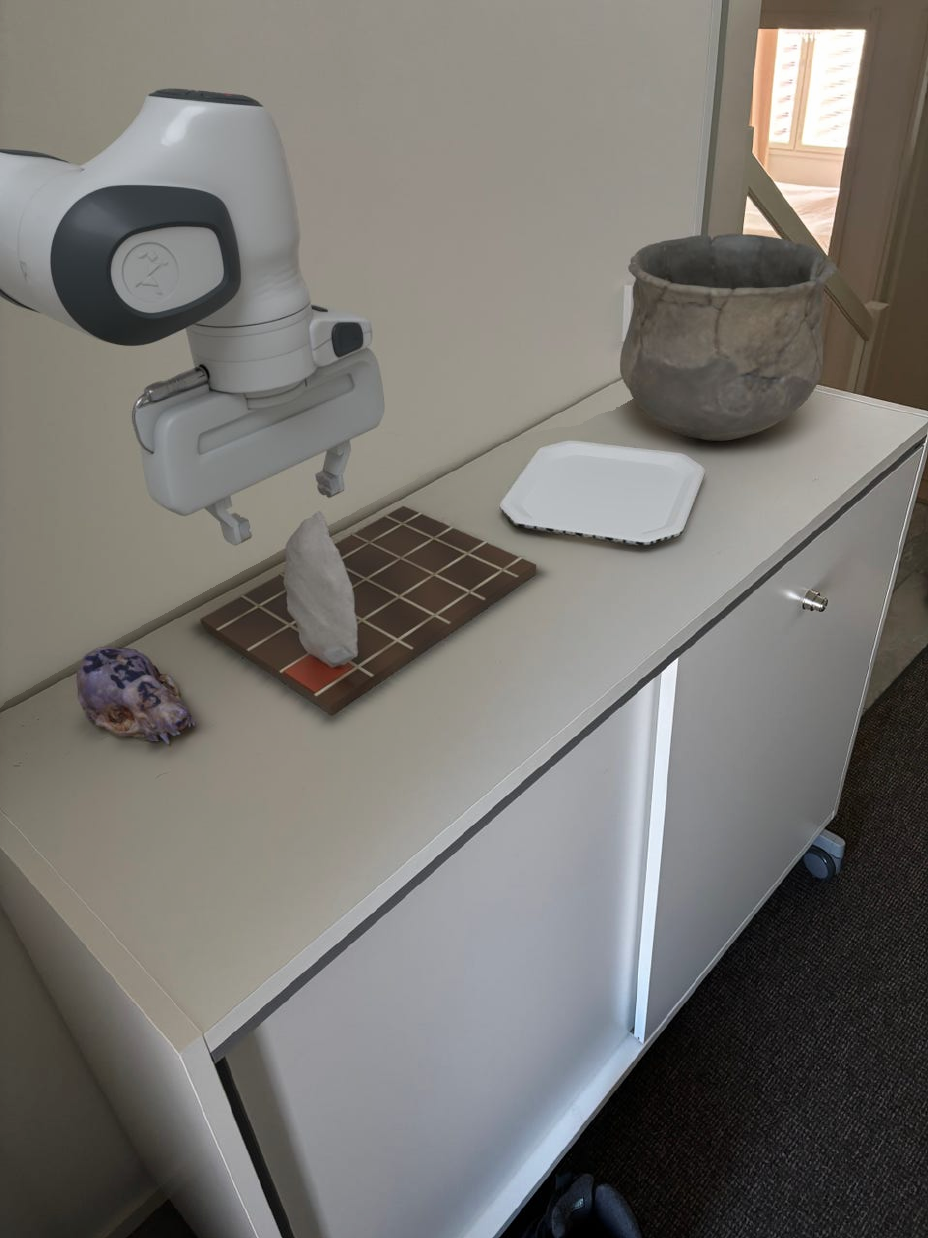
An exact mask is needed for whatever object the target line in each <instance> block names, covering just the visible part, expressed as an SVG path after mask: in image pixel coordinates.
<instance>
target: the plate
mask: <svg viewBox="0 0 928 1238" xmlns="http://www.w3.org/2000/svg"><path fill="white" fill-rule="evenodd" d="M705 474H706V469H705V468H704V467H703V466H702V465H700V463H698V462H696V461H694V460H693V459H692V458H691V457H689V456H687V455H686V454H684V453H681V452H673V451H665V450H657V449H649V448H641V447H640V448H639V447H631V446H624V445H623V446H622V445H615V444H614V445H613V444H605V443H597V442H588V441H579V440H565V441H561V442H557V443H552V444H549V445H545V446H542V447H540V448H538V449H537V450H536V452H535V453H534V454H533V456H532V457H531V459H530V460H529V461H528V463H527V464H526V465H525V467H524V469H523V470H522V471H521V473H520V474H519V476H518V477H517V479H516V480H515V481H514V483H513V484H512V486H511V487H510V488H509V489H508V492H506V494H505V496H503V498H502V500H500V501H501V502H500V503H499V509H500V511H501V512H502V513H503V514H504V515H505V516H506V518H508V519H509V520H510V521H511V523H513V524H514V525H516V526H517V527H521V528H525V529H529V530H534V531H538V532H545V533H550V534H556V535H557V534H558V535H563V536H569V537H576V538H577V537H578V538H583V539H590V540H595V541H601V542H602V541H603V542H608V543H615V544H621V545H628V546H648V545H652V544H656V543H659V542H663V541H665V540H666V541H667V540H669V539H672V538H675V537H679V536H681V534H683V533H684V532H683V531H684V529H685V526H686V524H687V521H688V519H689V516H690V514H691V511H692V508H693V507H694V506H693V505H694V503H695V501H696V499H697V497H698V496H697V495H698V493H699V490H700V488H701V486H702V483H703V480H704V477H705Z"/></svg>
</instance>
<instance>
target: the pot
mask: <svg viewBox="0 0 928 1238" xmlns="http://www.w3.org/2000/svg"><path fill="white" fill-rule="evenodd" d="M826 260H827V257H826V256H825V255H824V254H823V253H822V252H821V251H820V250H818V249H817V248H815V247H814V246H811V245H808V244H805V243H800V242H799V243H798V242H794V241H793V240H790V239H789V240H788V239H783V238H780V237H773V236H767V235H761V234H750V233H749V234H748V233H747V234H745V233H727V234H726V233H725V234H719V235H715V236H713V237H711V236H710V235H708V234H699V235H698V234H697V235H692V236H691V235H690V236H687V237H682V238H676V239H667V240H661V241H660V242H655V243H651V244H648V245H646V246H644V247H641V248H640V249H639V250H637V252H636V253H635V254H634V255H633V256H632V257H631V258H630V263H629V264H628V267H627V268H628V271H629V273H630V274H631V275H632V276H633V277H634V278H635V280H634V283H633V285H632V301H633V302H632V303H633V307H632V313H631V317H630V320H629V324H628V328H627V331H626V335H625V338H624V341H623V344H622V347H621V351H620V358H619V372H620V376H621V379H622V381H623V383H624V384H625V386H626V388H627V390H629V392H630V395H631V397H632V399H633V401H634V403H636V405H637V406H638V407H639V408H640V409H641V410H642V411H643V412H644V413H646V414H647V415H648V416H649V418H651V419H652V420H654V422H655V423H656V424H657V425H659V426H661V427H663V428H665V429H667V430H669V431H672V432H674V433H676V434H679V435H682V436H684V437H687V438H688V437H689V438H694V439H699V440H704V441H712V442H724V441H731V440H732V441H734V440H738V439H741V438H744V437H748V436H751V435H754V434H757V433H760V432H763V431H765V430H767V429H769V428H771V427H773V426H775V425H776V424H777V423H779V422H781V421H783V420H785V419H786V418H787V417H790V415H792V414H794V413H795V412H796V411H797V410H798V409H800V408H801V407H802V406H803V405H804V404H805V403H806V402H807V400H808V399H809V398H810V396H811V395H812V394H813V392H814V391H815V389H816V387H817V385H818V383H819V382H820V380H821V378H822V373H823V368H824V367H823V366H824V341H823V326H822V325H823V315H824V310H825V309H824V308H825V306H824V305H825V304H824V295H825V288H826V287H825V286H826V284H827V283H829V281H830V280H831V279H832V278H833V277H835V275H836V274H837V272H838V268H837V266H836V264H835V263H834V262H833V261H832V262H831V261H828V262H825V261H826ZM824 262H825V263H824ZM823 263H824V265H823V266H822V267H821V265H822V264H823ZM820 268H821V269H820Z"/></svg>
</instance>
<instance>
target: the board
mask: <svg viewBox="0 0 928 1238" xmlns="http://www.w3.org/2000/svg"><path fill="white" fill-rule="evenodd" d="M334 545H335V546H336V548H337V549H338V550H339V554H340V556H341V558H342V561H343V562H344V565H345V569H346V571H347V574H348V576H349V579H350V582H351V584H352V588H353V593H354V606H355V608H354V610H355V611H354V612H355V616H356V619H357V628H358V629H357V638H358V641H357V648H358V654H357V656H356V657H354V658H353V659H352V660H350V662H347V663H346V664H345V665H342V664H341V665H338V666H336V667H333V668H332V667H330V666H329V665H327V664H326V663H324V662H322V661H321V660H320V659H319V658H317V657H315V656H313V655H311V654H309V653H308V652H307V651H306V650H305V649H304V647H303V645H302V644H301V642H300V638H299V630H298V627H297V624H296V622H295V620H294V618H293V617H292V616H291V615H290V614H289V612H288V609H287V606H288V604H287V591H286V588H285V586H284V572H280V573H278V575H276V576H275V577H273V578H271V579H269V580H268V581H266V582H264V583H261V584H260V585H259V586H257V587H255V588H254V589H251V590H249V591H248V592H246V593H244V594H240V595H239V596H238V597H237V598H235V599H233V600H231V601H230V602H228V603H226V604H224V605H222V606H221V607H219V608H217V609H215V610H214V611H212V612H210V613H209V614H207V615H204V616H203V617H201V618H200V623H201V626H202V629H203V630H205V631H206V632H208V633H209V634H211V635H212V636H214V638H217V640H219V641H221V642H222V643H224V644H226V645H227V646H229V647H230V648H231V649H233V650H234V651H236V652H237V653H239V654H240V655H242V656H243V657H245V658H246V659H248V660H249V661H250V662H252V663H254V664H255V665H256V666H258V667H260V668H261V669H263V670H264V671H265V672H267V673H268V674H270V675H271V676H272V677H274V678H276V679H277V680H278V681H280V682H281V683H283V684H284V685H286V686H288V687H289V688H291V689H292V690H294V692H297V693H298V695H301V696H303V697H304V698H305V699H307V700H308V701H309V702H311V703H313V704H314V705H316V706H317V707H318V708H320V709H321V710H323V711H324V712H326V713H327V714H329V715H331V716H333V715H335V714H336V713H338V712H339V711H341V710H342V709H343V708H345V707H346V706H348V705H349V704H351V703H352V702H354V701H355V700H357V699H358V698H360V697H361V696H363V694H365V693H366V692H368V691H369V690H371V689H373V688H374V687H375V686H376V685H378V684H379V683H381V682H383V681H384V680H385V679H387V678H388V677H389V676H391V675H393V674H394V673H396V672H397V671H398V670H400V669H401V668H403V667H404V666H406V665H407V664H408V663H410V662H412V661H413V660H414V659H416V658H417V657H418V656H420V655H421V654H423V653H425V652H426V651H427V650H429V649H430V648H432V647H433V646H435V645H436V644H438V643H439V642H441V641H442V640H443V639H444V638H446V637H448V636H449V635H450V634H452V633H454V632H455V631H456V630H458V629H459V628H460V627H462V626H463V625H466V623H468V622H469V621H470V620H472V619H474V618H475V617H477V616H478V615H479V614H480V613H482V612H484V611H485V610H487V609H488V608H489V607H491V606H492V605H493V604H495V603H497V601H500V600H501V599H502V598H503V597H505V596H506V595H508V594H509V593H511V592H512V591H514V590H515V589H517V588H518V587H519V586H521V585H522V584H524V583H526V582H527V581H528V580H530V579H531V578H532V577H534V576H536V575H537V564H536V563H534V562H532V561H529V560H527V559H524V558H523V557H522V556H518V555H516V554H513V553H511V552H508V551H507V550H504V549H501V548H499V547H497V546H496V545H493V544H491V543H489V542H488V541H486V540H484V541H483V540H481V539H479V538H478V537H475V536H472V535H471V534H468V533H465V532H464V531H461V530H459V529H458V528H455V527H454V526H449V525H448V524H445V523H443V522H441V521H438V520H437V519H435V518H432V517H430V516H427V515H425V514H424V513H422V512H418V511H416V510H414V509H412V508H409V507H407V506H405V505H402V506H400V507H398V508H396V509H395V510H393V511H392V512H389V513H388V514H384V515H383V516H382V517H380V518H379V519H377V520H375V521H373V522H371V523H370V524H368V525H366V526H364V527H362V528H361V529H359V530H357V531H355V532H354V533H350V535H348V536H347V537H345V538H343V539H341V540H339V541H337V542H336V543H334Z"/></svg>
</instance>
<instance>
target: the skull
mask: <svg viewBox="0 0 928 1238" xmlns="http://www.w3.org/2000/svg"><path fill="white" fill-rule="evenodd" d="M75 674H76V675H75V676H76V685H77V699H78V703H79V705H80V706H81V708H82V710H83V711H85V717H86V718H87V719H89V720H90V721H91V722H92V724H93V725H94V726H95V727H97V728H99V727H101V728H104V729H106V731H109V732H110V733H112V734H113V735H115V736H119V737H132V738H133V737H134V738H139V739H141V741H145V740H147V741H150V742H159V741H160V740H159V738H158V735H159V736H160V739H162V740H163V741H164V742H165V743H166V744H167V745H170V740H169V737H168V733H169V734H171V735H172V736H173V737H175V736H176V735H181V733H180V731H181V730H182V729H185V728H186V727H187V726H188V728H190V727H191V725H192V726H193V727H195V726H196V721H195V719H194V717H193V715H192V713H191V712H190V710H189V708H188V707H187V706H186V704H185V703H184V702H183V701H182V699H181V695H182V694H181V690H180V688H179V686H178V685H177V683H176V682H175V681H174V679H172V678H171V676H170V675H169V674H168V673H161V672H160V671H159V669H158V667H157V666H156V665H154V664H153V662H152V661H151V659H150V658H149V657H148V656H147V655H145V654H144V653H143V652H140V651H138V649H135V648H130V647H129V648H128V647H121V646H119V647H114V646H99V647H95V648H94V649H93V650H91V651H89V652H88V653H86V654H84V656H83V657H82V659H81V662H80V664H79V666H78V668H77V671H76V673H75ZM164 684H167V686H169V687H170V688H171V690H173V691H170V689H168V688H167V687H166V685H164ZM111 718H112V720H113V719H114V720H115V721H111V720H110V719H111Z"/></svg>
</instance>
